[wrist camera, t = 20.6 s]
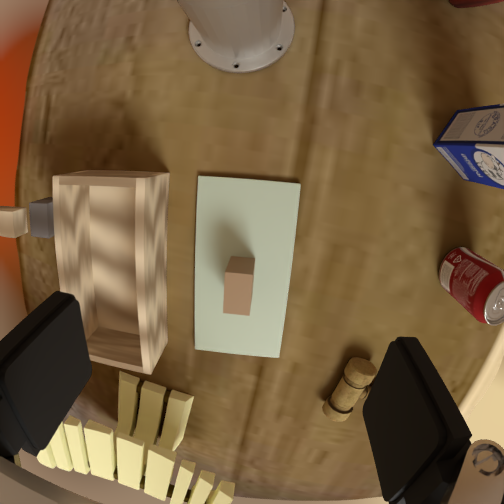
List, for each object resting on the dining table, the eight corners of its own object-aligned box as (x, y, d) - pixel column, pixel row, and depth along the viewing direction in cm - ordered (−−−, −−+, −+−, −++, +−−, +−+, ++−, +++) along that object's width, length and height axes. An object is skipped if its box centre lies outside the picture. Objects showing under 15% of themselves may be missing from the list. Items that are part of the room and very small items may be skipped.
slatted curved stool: (81, 409, 52) (42, 470, 35) (77, 352, 47) (22, 418, 30) (222, 458, 53) (209, 533, 36) (243, 409, 48) (233, 499, 31)
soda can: (430, 286, 40) (472, 328, 28) (445, 241, 38) (494, 272, 26) (464, 292, 40) (507, 331, 28) (478, 250, 38) (528, 280, 26)
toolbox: (70, 170, 38) (28, 177, 29) (169, 172, 38) (140, 179, 29) (81, 323, 45) (52, 354, 36) (167, 341, 45) (147, 380, 36)
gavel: (455, 385, 42) (424, 426, 45) (444, 369, 46) (416, 409, 49) (354, 372, 40) (324, 420, 43) (346, 353, 44) (319, 400, 47)
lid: (200, 175, 38) (186, 179, 32) (299, 183, 38) (305, 189, 31) (196, 344, 45) (186, 372, 39) (278, 353, 45) (279, 382, 39)
